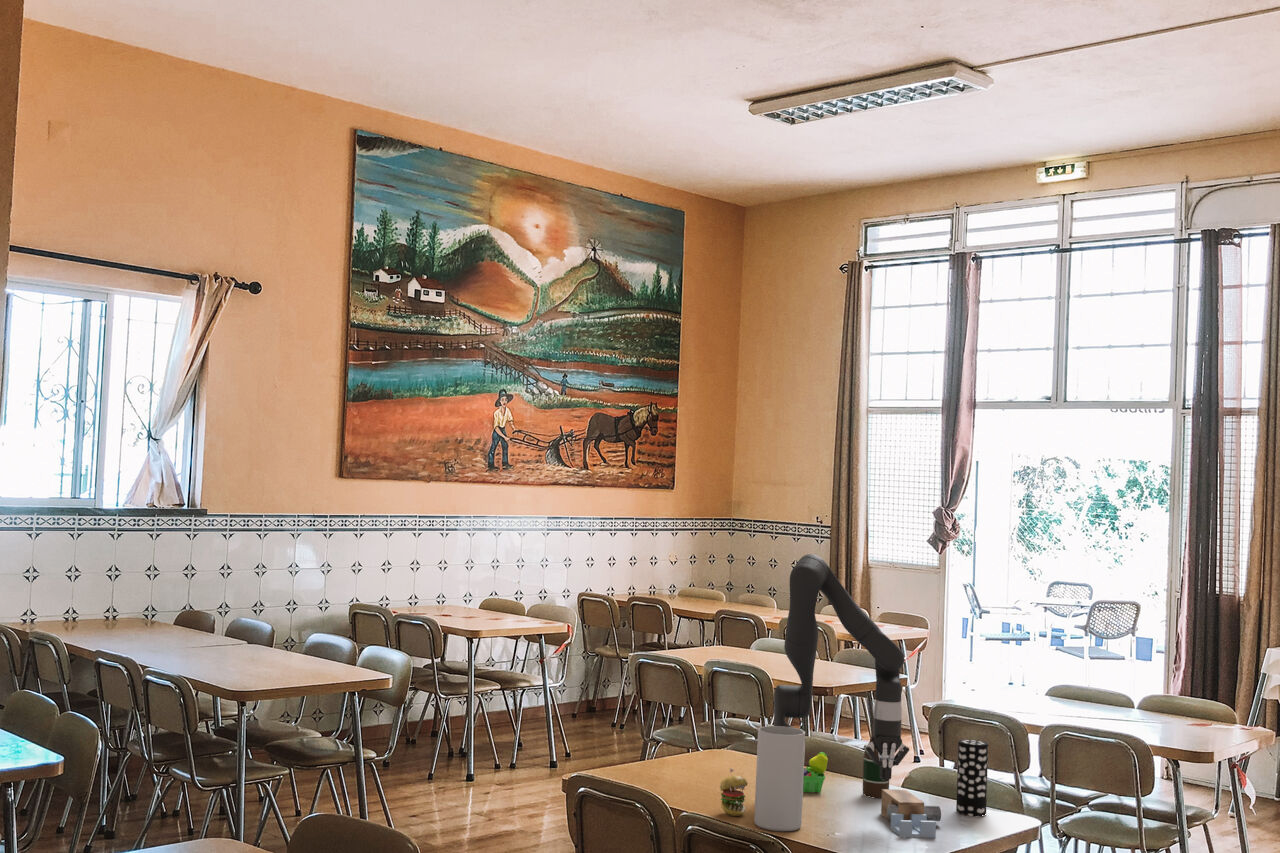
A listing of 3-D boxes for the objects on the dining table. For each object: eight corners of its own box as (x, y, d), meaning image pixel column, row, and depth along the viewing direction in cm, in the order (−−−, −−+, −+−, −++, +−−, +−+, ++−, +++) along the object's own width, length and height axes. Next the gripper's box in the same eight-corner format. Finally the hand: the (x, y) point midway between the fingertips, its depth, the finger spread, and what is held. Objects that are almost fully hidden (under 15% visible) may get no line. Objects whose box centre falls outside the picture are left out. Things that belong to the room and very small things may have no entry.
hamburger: (729, 818, 312) (731, 773, 313) (713, 812, 318) (715, 767, 319) (751, 816, 316) (753, 771, 317) (735, 809, 322) (737, 765, 323)
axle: (891, 819, 314) (891, 804, 315) (887, 819, 317) (886, 804, 319) (941, 821, 315) (940, 805, 316) (936, 821, 319) (935, 805, 320)
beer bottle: (888, 799, 343) (891, 718, 345) (862, 797, 345) (865, 715, 346) (888, 793, 351) (891, 713, 352) (862, 791, 352) (865, 711, 354)
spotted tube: (986, 811, 335) (988, 741, 337) (985, 818, 327) (987, 746, 329) (957, 807, 338) (959, 738, 339) (955, 814, 330) (957, 743, 332)
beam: (898, 827, 312) (899, 802, 312) (881, 813, 326) (881, 789, 326) (923, 828, 312) (924, 802, 313) (904, 814, 327) (905, 789, 327)
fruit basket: (795, 784, 357) (796, 747, 358) (824, 786, 357) (825, 749, 358) (799, 793, 346) (801, 754, 347) (829, 795, 346) (830, 756, 346)
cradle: (900, 836, 303) (901, 821, 303) (890, 828, 310) (891, 813, 311) (935, 837, 304) (936, 822, 304) (924, 829, 312) (925, 814, 312)
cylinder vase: (809, 831, 303) (812, 735, 305) (765, 833, 300) (769, 735, 302) (789, 819, 315) (793, 726, 317) (747, 820, 312) (751, 726, 314)
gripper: (869, 719, 313) (867, 784, 312) (915, 720, 315) (913, 784, 314) (859, 713, 321) (857, 777, 320) (905, 714, 323) (902, 777, 322)
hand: (885, 780), depth 317 cm, fingers closed
